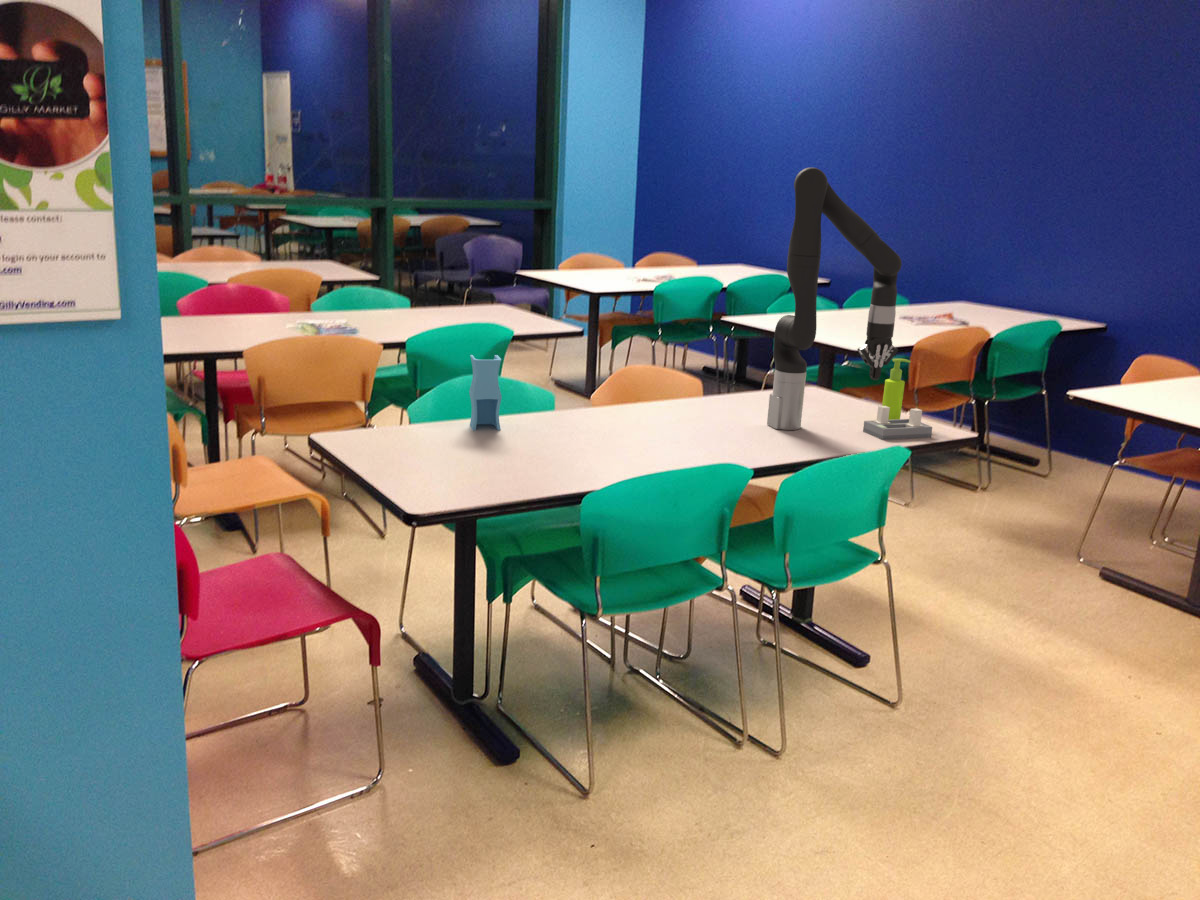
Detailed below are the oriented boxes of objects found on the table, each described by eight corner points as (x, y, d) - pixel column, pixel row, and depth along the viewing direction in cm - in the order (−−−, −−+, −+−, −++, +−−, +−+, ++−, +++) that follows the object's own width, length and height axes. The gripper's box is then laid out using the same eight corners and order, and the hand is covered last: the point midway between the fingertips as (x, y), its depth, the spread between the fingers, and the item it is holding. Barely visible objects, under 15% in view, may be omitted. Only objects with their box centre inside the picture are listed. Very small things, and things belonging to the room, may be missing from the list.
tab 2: (911, 432, 304) (913, 411, 302) (904, 430, 306) (907, 408, 304) (922, 432, 305) (925, 410, 303) (916, 429, 308) (918, 408, 306)
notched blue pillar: (496, 423, 297) (497, 354, 291) (500, 430, 290) (502, 360, 284) (468, 423, 295) (469, 354, 289) (472, 430, 287) (473, 360, 282)
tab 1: (878, 429, 305) (881, 408, 303) (872, 427, 308) (875, 405, 306) (889, 429, 307) (892, 407, 305) (884, 426, 309) (886, 405, 307)
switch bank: (882, 439, 299) (883, 428, 298) (862, 431, 308) (864, 420, 308) (930, 437, 305) (932, 426, 304) (910, 428, 314) (911, 418, 313)
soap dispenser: (905, 424, 319) (913, 361, 314) (882, 423, 319) (890, 360, 314) (900, 420, 325) (908, 357, 320) (878, 419, 325) (886, 356, 320)
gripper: (869, 323, 291) (862, 382, 296) (908, 322, 296) (901, 381, 301) (854, 318, 298) (848, 377, 303) (892, 318, 303) (885, 375, 307)
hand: (874, 379), depth 302 cm, fingers closed
